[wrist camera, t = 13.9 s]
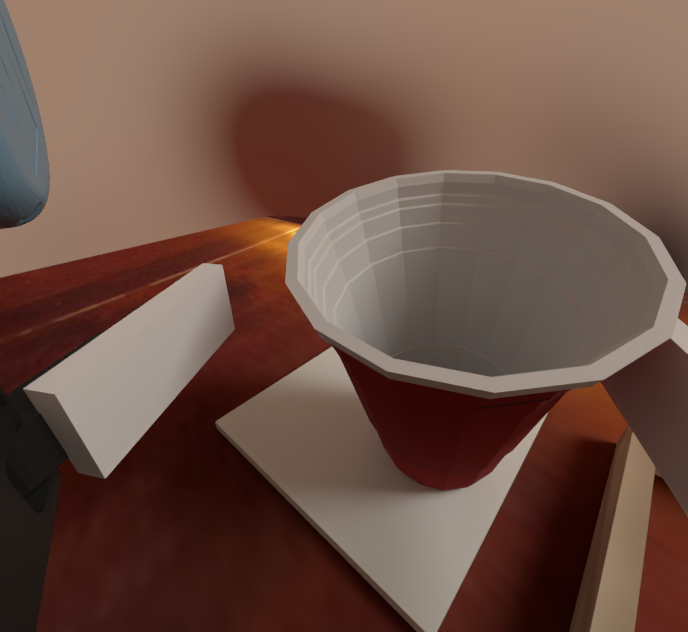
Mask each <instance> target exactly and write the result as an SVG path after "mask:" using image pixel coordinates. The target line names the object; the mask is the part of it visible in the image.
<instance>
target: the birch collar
mask: <svg viewBox="0 0 688 632" xmlns="http://www.w3.org/2000/svg"><path fill="white" fill-rule="evenodd" d="M654 475H657V476H659V477H661V478H662V476H661V475H660V473H659V471H658V470H657V468H656V467H655V465H654V464H653V462H652V461H651V459H650V458H649V456H648V454H647V453H646V451H645V450H644V448H643V447H642V445H641V444H640V442H639V440H638V439H637V437H636V436H635V434H634V433H633V431H632V430H631V428H630V427H629V425H628V426H627V428H626V429H625V431H624V433H623V434H622V436H621V437H620V439H619V440H618V442H617V444H616V448H615V452H614V456H613V460H612V464H611V468H610V472H609V476H608V480H607V484H606V487H605V491H604V495H603V499H602V503H601V507H600V511H599V515H598V519H597V523H596V527H595V531H594V535H593V539H592V543H591V547H590V550H589V554H588V558H587V562H586V566H585V570H584V574H583V578H582V582H581V586H580V590H579V594H578V598H577V602H576V606H575V610H574V613H573V617H572V621H571V625H570V629H569V632H634V630H635V623H636V615H637V607H638V599H639V592H640V584H641V576H642V568H643V560H644V553H645V545H646V537H647V529H648V522H649V514H650V506H651V498H652V490H653V483H654Z"/></svg>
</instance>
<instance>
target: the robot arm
mask: <svg viewBox="0 0 688 632" xmlns="http://www.w3.org/2000/svg"><path fill="white" fill-rule="evenodd" d="M49 178H50V176H49V163H48V154H47V148H46V142H45V136H44V131H43V126H42V121H41V117H40V113H39V108H38V105H37V100H36V96H35V93H34V89H33V85H32V82H31V79H30V75H29V72H28V68H27V65H26V61H25V58H24V55H23V52H22V49H21V46H20V43H19V40H18V38H17V34H16V31H15V29H14V26H13V23H12V21H11V18H10V15H9V12H8V10H7V7H6V5H5V2H4V0H0V229H4V228H11V227H17V226H20V225H23V224H26V223H28V222H30V221H32V220H33V219H35V218H36V217H37V216H38V215H39V214H40V213H41V211H42V209H43V208H44V207H45V204H46V202H47V199H48V194H49V180H50V179H49ZM234 329H235V327H234V322H233V317H232V312H231V307H230V302H229V297H228V292H227V287H226V281H225V276H224V271H223V266H222V265H217V264H206V263H203V264H201V265H200V266H198V267H197V268H195V269H194V270H193V271H191V272H190V273H188V274H187V275H185V276H184V277H183V278H181V279H180V280H178V281H177V282H175V283H174V284H172V285H171V286H170V287H168V288H167V289H165V290H164V291H162V292H161V293H160V294H158V295H157V296H155V297H154V298H152V299H151V300H150V301H148V302H147V303H145V304H144V305H142V306H141V307H139V308H138V309H137V310H135V311H134V312H132V313H131V314H129V315H128V316H127V317H125V318H124V319H122V320H121V321H119V322H118V323H117V324H115V325H114V326H112V327H111V328H109V329H108V330H105V331H103V332H101V333H99V334H96V335H94V336H93V337H91V338H90V339H88V340H87V341H85V342H84V343H82V344H81V345H79V346H78V348H77V349H74V350H72V351H71V352H69V353H68V354H66V355H65V356H64V358H63V359H59V360H58V361H56V362H55V363H53V364H52V365H50V366H49V367H47V368H46V369H45V370H43V371H42V372H40V373H39V374H37V375H36V376H34V377H33V378H31V379H30V380H28V381H27V382H26V383H24V384H23V385H21V386H20V387H18V388H17V389H15V390H14V391H12V392H11V393H10V394H8V395H6V394H5V393H4V391H3V390H2V388H1V387H0V632H36V627H37V621H38V615H39V609H40V603H41V597H42V591H43V585H44V580H45V574H46V568H47V562H48V556H49V550H50V544H51V538H52V532H53V526H54V520H55V514H56V508H57V502H58V496H59V490H60V485H61V474H60V471H59V470H58V468H57V467H58V466H59V465H60V464H61V463H63V462H64V461H65V460H66V459H67V458H69V460H70V461H71V463H72V464H73V466H74V467H75V469H76V471H77V472H78V473H80V474H85V475H89V476H94V477H99V478H103V479H106V478H107V476H108V475H109V474H110V473H111V472H112V471H113V470H114V468H115V467H116V466H117V465H118V464H119V463H120V461H121V460H122V459H123V458H124V457H125V456H126V454H127V453H128V452H129V451H130V450H131V449H132V447H133V446H134V445H135V444H136V443H137V442H138V441H139V439H140V438H141V437H142V436H143V435H144V434H145V432H146V431H147V430H148V429H149V428H150V427H151V425H152V424H153V423H154V422H155V421H156V420H157V418H158V417H159V416H160V415H161V414H162V413H163V412H164V410H165V409H166V408H167V407H168V406H169V405H170V403H171V402H172V401H173V400H174V399H175V398H176V396H177V395H178V394H179V393H180V392H181V391H182V389H183V388H184V387H185V386H186V385H187V384H188V383H189V381H190V380H191V379H192V378H193V377H194V376H195V374H196V373H197V372H198V371H199V370H200V369H201V367H202V366H203V365H204V364H205V363H206V362H207V360H208V359H209V358H210V357H211V356H212V355H213V353H214V352H215V351H216V350H217V349H218V348H219V347H220V345H221V344H222V343H223V342H224V341H225V340H226V338H227V337H228V336H229V335H230V334H231V333H232V331H233V330H234ZM601 383H602V385H603V386H604V388H605V389H606V391H607V392H608V394H609V396H610V397H611V399H612V400H613V402H614V403H615V405H616V406H617V408H618V409H619V411H620V413H621V414H622V416H623V417H624V419H625V420H626V422H627V423H628V425H629V427H630V428H631V430H632V431H633V433H634V434H635V436H636V437H637V439H638V440H639V442H640V444H641V445H642V447H643V448H644V450H645V451H646V453H647V454H648V456H649V458H650V459H651V461H652V462H653V464H654V465H655V467H656V468H657V470H658V471H659V473H660V475H661V476H662V478H663V479H664V481H665V482H666V484H667V485H668V487H669V488H670V490H671V492H672V493H673V495H674V496H675V498H676V499H677V501H678V502H679V504H680V506H681V507H682V509H683V510H684V512H685V513H686V515H687V516H688V326H687V325H685V324H684V323H683V322H682V321H681V320H679V319H678V318H677V322H676V326H675V329H674V333H673V337H671V338H670V339H668V340H666V341H665V342H663V343H662V344H660V345H659V346H657V347H655V348H654V349H652V350H651V351H649V352H647V353H646V354H644V355H643V356H641V357H639V358H638V359H636V360H635V361H633V362H631V363H630V364H628V365H627V366H625V367H623V368H622V369H620V370H619V371H617V372H615V373H614V374H612V375H611V376H609V377H607V378H606V379H604V380H602V381H601Z"/></svg>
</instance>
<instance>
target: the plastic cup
mask: <svg viewBox="0 0 688 632" xmlns="http://www.w3.org/2000/svg"><path fill="white" fill-rule="evenodd" d="M285 283H286V285H287V286H288V288H289V290H290V291H291V293H292V294H293V296H294V297H295V299H296V300H297V302H298V304H299V305H300V307H301V308H302V310H303V311H304V313H305V314H306V316H307V317H308V319H309V321H310V322H311V324H312V325H313V327H314V328H315V330H316V331H317V333H318V334H319V336H320V337H321V338H322V339H323V340H325V341H327V342H328V343H330V344H331V345H332V346H333V348H334V349H335V351H336V352H337V354H338V355H339V357H340V359H341V361H342V363H343V365H344V367H345V369H346V371H347V374H348V376H349V378H350V380H351V382H352V384H353V386H354V389H355V391H356V393H357V395H358V397H359V399H360V401H361V404H362V406H363V408H364V410H365V412H366V414H367V416H368V418H369V421H370V422H371V424H372V425H373V427H374V428H375V430H376V431H377V433H378V435H379V438H380V440H381V442H382V444H383V446H384V448H385V450H386V451H387V453H388V454H389V456H390V457H391V459H392V460H393V462H394V463H395V465H396V466H397V467H398V468H399V469H400V471H402V472H403V473H405V474H406V475H407V476H409V477H410V478H412V479H413V480H415V481H416V482H417V483H419V484H421V485H424V486H428V487H432V488H436V489H440V490H444V491H445V490H452V489H459V488H467V487H469V486H472V485H473V484H475V483H476V482H478V481H479V480H481V479H482V478H484V477H485V476H487V475H488V474H490V473H491V472H492V471H493V470H494V469H495V468H496V466H497V465H498V464H499V463H500V461H501V460H502V459H503V458H504V456H505V455H507V454H508V453H510V452H511V451H513V450H514V449H515V448H516V447H517V445H518V444H519V443H520V442H521V441H522V440H523V439H524V438H525V437H526V436H527V435H528V433H529V432H530V431H531V430H532V429H533V428H534V427H535V426H536V425H537V424H538V422H539V421H540V420H541V419H542V418H543V417H544V416H545V415H546V414H547V413H548V412H549V410H550V409H551V408H552V407H553V406H554V405H555V404H556V403H557V402H558V401H559V400H560V398H561V397H562V396H563V395H564V394H565V393H566V392H567V391H569V390H571V389H576V388H584V387H591V386H593V385H595V384H597V383H599V382H601V381H602V380H604V379H606V378H607V377H609V376H611V375H612V374H614V373H615V372H617V371H619V370H620V369H622V368H623V367H625V366H627V365H628V364H630V363H631V362H633V361H635V360H636V359H638V358H639V357H641V356H643V355H644V354H646V353H647V352H649V351H651V350H652V349H654V348H655V347H657V346H659V345H660V344H662V343H663V342H665V341H666V340H668V339H670V338H671V337H673V333H674V329H675V326H676V322H677V318H678V314H679V310H680V306H681V302H682V298H683V295H684V290H685V287H686V282H685V281H684V279H683V277H682V276H681V274H680V272H679V270H678V269H677V267H676V265H675V264H674V262H673V260H672V258H671V257H670V255H669V253H668V252H667V250H666V248H665V247H664V245H663V243H662V241H661V240H660V238H659V237H658V236H656V235H655V234H654V233H652V232H651V231H649V230H648V229H646V228H645V227H644V226H642V225H641V224H639V223H638V222H636V221H635V220H633V219H632V218H631V217H629V216H628V215H626V214H625V213H623V212H622V211H620V210H619V209H618V208H616V207H615V206H613V205H612V204H610V203H608V202H605V201H602V200H600V199H597V198H594V197H592V196H589V195H587V194H584V193H581V192H578V191H576V190H573V189H571V188H568V187H565V186H563V185H560V184H557V183H555V182H549V181H544V180H539V179H533V178H528V177H522V176H517V175H512V174H506V173H501V172H483V171H452V170H442V171H434V172H426V173H417V174H409V175H401V176H393V177H390V178H386V179H384V180H380V181H377V182H374V183H370V184H367V185H364V186H361V187H358V188H355V189H351V190H348V191H347V192H345V193H343V194H341V195H340V196H338V197H337V198H335V199H333V200H332V201H330V202H328V203H327V204H325V205H323V206H322V207H320V208H318V209H317V210H315V211H313V212H312V213H311V214H310V215H309V217H308V218H307V219H306V221H305V222H304V223H303V225H302V226H301V227H300V228H299V230H298V231H297V232H296V234H295V235H294V236H293V238H292V239H291V240H290V241H289V243H288V252H287V266H286V280H285Z"/></svg>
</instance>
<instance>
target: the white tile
mask: <svg viewBox="0 0 688 632" xmlns="http://www.w3.org/2000/svg"><path fill="white" fill-rule="evenodd" d="M547 414H548V413H547ZM547 414H546V415H545V416H544V417H543V418H542V419H541V420H540V421H539V422H538V424H537V425H536V426H535V427H534V428H533V429H532V430H531V431H530V432H529V433H528V435H527V436H526V437H525V438H524V439H523V440H522V441H521V442H520V443H519V444H518V445H517V447H516V448H515V449H514V450H513V451H511V452H510V453H508V454H507V455H505V456H504V458H503V459H502V460H501V461H500V463H499V464H498V465H497V466H496V468H495V469H494V470H493V471H492V472H491V473H490V474H488V475H487V476H485V477H484V478H482V479H481V480H479V481H478V482H476V483H475V484H473V485H472V486H469V487H467V488H459V489H452V490H445V491H444V490H440V489H436V488H432V487H428V486H424V485H421V484H419V483H417V482H416V481H415V480H413V479H412V478H410V477H409V476H407V475H406V474H405V473H403V472H402V471H400V469H399V468H398V467H397V466H396V465H395V463H394V462H393V460H392V459H391V457H390V456H389V454H388V453H387V451H386V450H385V448H384V446H383V444H382V442H381V440H380V438H379V435H378V433H377V431H376V430H375V428H374V427H373V425H372V424H371V422H370V421H369V418H368V416H367V414H366V412H365V410H364V408H363V406H362V404H361V401H360V399H359V397H358V395H357V393H356V391H355V389H354V386H353V384H352V382H351V380H350V378H349V376H348V374H347V371H346V369H345V367H344V365H343V363H342V361H341V359H340V357H339V355H338V354H337V352H336V351H335V349H334V348H333V346H332V347H331V348H329V349H328V350H326V351H324V352H323V353H321V354H320V355H318V356H317V357H315V358H314V359H312V360H310V361H309V362H307V363H306V364H304V365H303V366H301V367H299V368H298V369H296V370H295V371H293V372H292V373H290V374H289V375H287V376H285V377H284V378H282V379H281V380H279V381H278V382H276V383H275V384H273V385H271V386H270V387H268V388H267V389H265V390H264V391H262V392H260V393H259V394H257V395H256V396H254V397H253V398H251V399H250V400H248V401H246V402H245V403H243V404H242V405H240V406H239V407H237V408H236V409H234V410H232V411H231V412H229V413H228V414H226V415H225V416H223V417H222V418H220V419H218V420H217V421H215V424H216V428H217V430H218V431H219V432H220V433H221V434H222V435H223V436H224V437H225V438H226V439H227V440H228V441H229V442H230V443H231V444H232V445H233V446H234V447H235V448H236V449H237V450H238V451H239V452H240V453H241V454H242V455H243V456H244V457H245V458H246V459H247V460H248V461H249V462H250V463H251V464H252V465H253V466H254V467H255V468H256V469H257V470H258V471H259V472H260V473H261V474H262V475H263V476H264V477H265V478H266V479H267V480H268V481H269V482H270V483H271V484H272V485H273V486H274V487H275V488H276V489H277V490H278V491H279V492H280V493H281V494H282V496H283V497H284V498H285V499H286V500H287V501H288V502H289V503H290V504H291V505H292V506H293V507H294V508H295V509H296V510H297V511H298V512H299V513H300V514H301V515H302V516H303V517H304V518H305V519H306V520H307V521H308V522H309V523H310V524H311V525H312V526H313V527H314V528H315V529H316V530H317V531H318V532H319V533H320V534H321V535H322V536H323V537H324V538H325V539H326V540H327V541H328V542H329V543H330V544H331V545H332V546H333V547H334V548H335V549H336V550H337V551H338V552H339V553H340V554H341V555H342V556H343V557H344V558H345V559H346V560H347V561H348V563H349V564H350V565H351V566H352V567H353V568H354V569H355V570H356V571H357V572H358V573H359V574H360V575H361V576H362V577H363V578H364V579H365V580H366V581H367V582H368V583H369V584H370V585H371V586H372V587H373V588H374V589H375V590H376V591H377V592H378V593H379V594H380V595H381V596H382V597H383V598H384V599H385V600H386V601H387V602H388V603H389V604H390V605H391V606H392V607H393V608H394V609H395V610H396V611H397V612H398V613H399V614H400V615H401V616H402V617H403V618H404V619H405V620H406V621H407V622H408V623H409V624H410V625H411V626H412V627H413V628H414V629H415V631H416V632H438V630H439V628H440V626H441V624H442V622H443V620H444V618H445V616H446V614H447V612H448V610H449V608H450V606H451V604H452V602H453V600H454V598H455V596H456V594H457V592H458V590H459V588H460V586H461V584H462V582H463V580H464V578H465V576H466V574H467V572H468V570H469V568H470V566H471V564H472V562H473V560H474V559H475V557H476V555H477V553H478V551H479V549H480V547H481V545H482V543H483V541H484V539H485V537H486V535H487V533H488V531H489V529H490V527H491V525H492V523H493V521H494V519H495V517H496V515H497V513H498V511H499V509H500V507H501V505H502V503H503V501H504V499H505V497H506V495H507V493H508V491H509V489H510V487H511V485H512V483H513V481H514V479H515V477H516V475H517V473H518V472H519V470H520V468H521V466H522V464H523V462H524V460H525V458H526V456H527V454H528V452H529V450H530V448H531V446H532V444H533V442H534V440H535V438H536V436H537V434H538V432H539V430H540V428H541V426H542V424H543V422H544V420H545V418H546V416H547Z"/></svg>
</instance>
